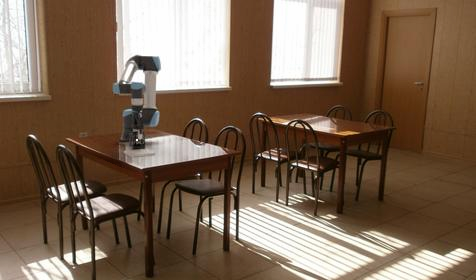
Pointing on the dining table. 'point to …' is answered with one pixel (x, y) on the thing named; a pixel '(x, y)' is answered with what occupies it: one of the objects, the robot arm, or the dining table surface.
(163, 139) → the dining table surface
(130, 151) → the ceramic tile
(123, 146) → the dining table surface
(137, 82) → the robot arm
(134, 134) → the french press
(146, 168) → the dining table surface
